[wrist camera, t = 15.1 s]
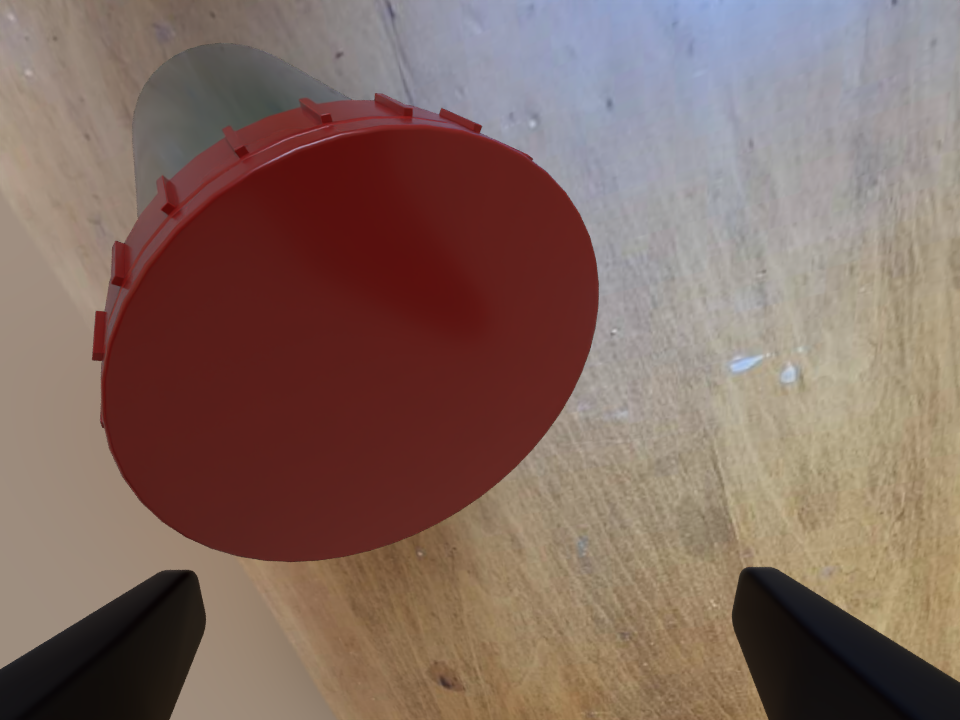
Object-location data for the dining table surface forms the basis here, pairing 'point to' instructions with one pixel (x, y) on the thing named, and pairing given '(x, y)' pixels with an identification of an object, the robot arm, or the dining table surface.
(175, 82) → the jar
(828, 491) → the dining table surface
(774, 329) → the dining table surface
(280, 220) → the jar lid
